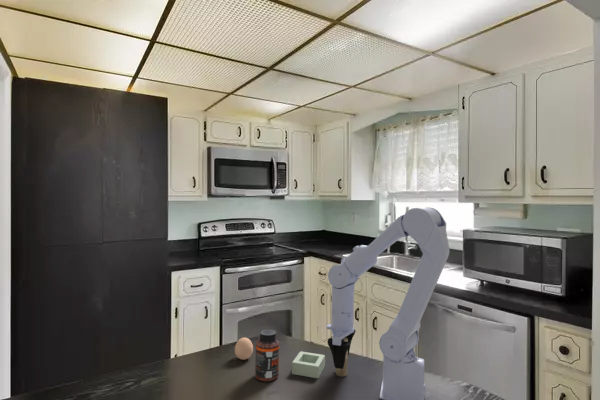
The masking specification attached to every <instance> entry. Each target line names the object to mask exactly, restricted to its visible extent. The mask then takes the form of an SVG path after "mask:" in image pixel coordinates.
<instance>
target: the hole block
mask: <svg viewBox="0 0 600 400" xmlns="http://www.w3.org/2000/svg"><path fill="white" fill-rule="evenodd" d="M291 363H292V364H291V374H292V375H297V376H302V377H307V378H311V379H312V378H313V379H319V378H320V376H321V374H322V373H323V370H324V369H325V366H326V355H325V354H321V353H314V352H306V351H302V350H301V351H299V352H298V354H297V355H296V356H295V357H294V360H292V362H291Z"/></svg>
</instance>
